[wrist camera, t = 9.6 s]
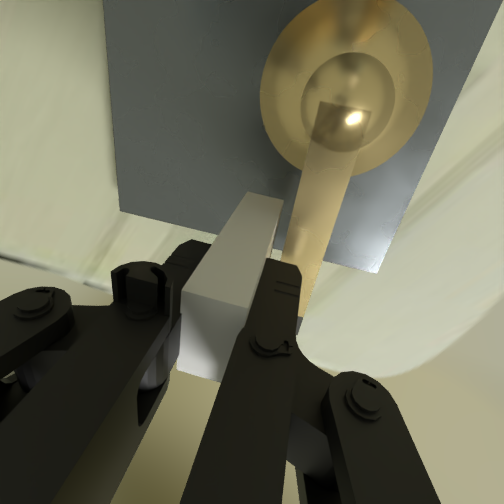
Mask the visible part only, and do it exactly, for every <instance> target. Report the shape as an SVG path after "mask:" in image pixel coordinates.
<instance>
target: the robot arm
mask: <svg viewBox="0 0 504 504" xmlns="http://www.w3.org/2000/svg"><path fill="white" fill-rule="evenodd" d="M283 202H284V200H281V199H277V198H272V197H268V196H264V195H260V194H256V193H252V192H247V193H246V194H245V196H244V197H243V199H242V200H241V202H240V203H239V205H238V206H237V208H236V209H235V211H234V212H233V214H232V215H231V217H230V218H229V220H228V221H227V223H226V224H225V226H224V227H223V229H222V230H221V232H220V233H219V235H218V236H217V238H216V239H215V241H214V242H213V244H208V243H204V242H200V241H196V240H192V239H191V240H189V241H187V242H185V243H183V244H181V245H179V246H178V247H177V248H176V249H175V251H174V252H173V253H172V254H171V256H169V258H168V259H167V260H166V261H165V264H164V263H163V265H159V264H157V263H153V262H146V261H140V262H130V263H127V264H124V265H120V266H119V267H117V268H115V269H114V270H112V271H111V279H112V290H113V299H114V301H113V302H112V303H111V305H109V306H83V305H82V306H81V305H72V303H71V298H70V295H68V294H67V293H66V292H65V291H64V290H62V289H58V288H55V287H37V288H30V289H26V290H23V291H21V292H18V293H15V294H13V295H11V296H9V297H7V298H5V299H3V300H1V301H0V504H110V502H111V500H112V498H113V496H114V494H115V492H116V490H117V488H118V486H119V484H120V482H121V480H122V478H123V476H124V474H125V472H126V470H127V468H128V466H129V464H130V462H131V460H132V458H133V456H134V454H135V452H136V450H137V448H138V447H139V444H140V442H141V440H142V439H143V437H144V434H145V433H146V431H147V428H148V427H149V424H150V423H151V420H152V419H153V417H154V414H155V412H156V411H157V409H158V407H159V405H160V403H161V400H162V399H163V396H164V394H165V393H166V391H167V388H168V384H169V378H170V371H171V369H172V367H173V365H174V363H175V362H176V360H177V370H180V371H183V372H186V373H190V374H193V375H196V376H200V377H203V378H206V379H210V380H213V381H217V382H220V383H221V385H220V387H219V390H218V393H217V396H216V399H215V402H214V405H213V408H212V411H211V414H210V417H209V419H208V422H207V425H206V428H205V431H204V434H203V437H202V440H201V443H200V446H199V448H198V452H197V455H196V457H195V460H194V463H193V466H192V469H191V472H190V475H189V478H188V481H187V483H186V487H185V489H184V492H183V495H182V498H181V501H180V504H282V495H283V485H284V476H285V467H286V466H285V465H286V460H287V461H288V462H290V463H291V464H292V465H294V466H295V470H296V477H297V485H298V493H299V500H300V504H441V503H440V500H439V498H438V496H437V494H436V492H435V489H434V487H433V485H432V482H431V480H430V478H429V476H428V473H427V471H426V469H425V467H424V465H423V462H422V460H421V458H420V456H419V453H418V451H417V449H416V447H415V444H414V442H413V440H412V438H411V435H410V433H409V431H408V429H407V426H406V424H405V422H404V420H403V417H402V415H401V413H400V411H399V408H398V406H397V404H396V403H395V401H394V399H393V398H392V396H391V395H390V393H389V392H388V391H387V390H386V389H385V388H384V387H383V386H382V385H381V384H380V383H379V382H378V381H376V380H375V379H373V378H371V377H369V376H368V375H366V374H362V373H358V372H354V371H349V372H341V373H340V374H338V375H337V376H335V377H333V376H332V375H330V374H328V373H327V372H325V371H323V370H321V369H320V368H318V367H317V366H315V365H314V364H313V363H311V362H310V361H309V360H308V359H307V358H306V357H305V356H304V355H303V354H302V352H301V351H300V349H299V347H298V344H297V342H296V327H297V319H298V310H299V302H300V293H301V284H302V274H301V272H300V270H299V268H298V266H297V265H293V264H290V263H286V262H282V261H278V260H274V259H270V257H271V252H272V248H273V244H274V240H275V236H276V232H277V227H278V223H279V219H280V215H281V211H282V207H283ZM12 371H14V372H15V374H13V375H11V376H9V377H7V378H3V377H5V376H6V375H8V374H9V373H11V372H12Z"/></svg>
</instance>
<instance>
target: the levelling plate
mask: <svg viewBox="0 0 504 504" xmlns="http://www.w3.org/2000/svg"><path fill="white" fill-rule="evenodd" d="M317 1H318V0H103V7H104V19H105V32H106V44H107V57H108V69H109V82H110V94H111V107H112V119H113V131H114V144H115V156H116V169H117V181H118V194H119V206H120V211H122V212H126V213H130V214H134V215H138V216H142V217H147V218H151V219H155V220H159V221H163V222H167V223H171V224H175V225H179V226H183V227H188V228H192V229H196V230H200V231H204V232H208V233H212V234H216V235H219V233H220V232H221V230H222V229H223V227H224V226H225V224H226V223H227V221H228V220H229V218H230V217H231V215H232V214H233V212H234V211H235V209H236V208H237V206H238V205H239V203H240V202H241V200H242V199H243V197H244V196H245V194H246V193H247V192H252V193H256V194H260V195H264V196H268V197H272V198H277V199H281V200H284V202H283V207H282V211H281V215H280V219H279V223H278V227H277V232H276V236H275V240H274V244H273V248H274V249H278V250H282V251H283V248H284V244H285V240H286V236H287V231H288V227H289V223H290V219H291V215H292V211H293V207H294V203H295V199H296V195H297V191H298V187H299V183H300V179H301V175H302V170H300V169H298V168H296V167H295V166H293V165H292V164H291V163H289V162H288V161H287V160H286V159H285V158H284V157H283V156H282V155H281V154H280V153H279V152H278V151H277V149H276V148H275V147H274V145H273V144H272V142H271V140H270V138H269V136H268V134H267V132H266V129H265V127H264V123H263V119H262V115H261V108H260V86H261V79H262V74H263V70H264V67H265V64H266V60H267V58H268V55H269V53H270V51H271V49H272V47H273V45H274V43H275V42H276V40H277V38H278V37H279V35H280V34H281V33H282V31H283V30H284V29H285V27H286V26H287V25H288V24H289V23H290V22H291V21H292V20H293V19H294V18H295V17H296V16H297V15H298V14H299V13H300V12H302V11H303V10H304V9H306V8H307V7H308V6H310V5H312V4H313V3H315V2H317ZM395 1H397V2H398V3H400V4H401V5H403V6H404V7H405V8H406V9H407V10H408V11H409V12H410V13H412V14H413V16H414V17H415V18H416V20H417V21H418V22H419V24H420V25H421V27H422V29H423V31H424V33H425V35H426V37H427V40H428V43H429V46H430V49H431V55H432V61H433V81H432V89H431V94H430V98H429V102H428V105H427V108H426V111H425V113H424V115H423V117H422V119H421V121H420V124H419V125H418V127H417V129H416V130H415V132H414V133H413V135H412V136H411V137H410V139H409V140H408V141H407V142H406V144H405V145H404V146H403V147H402V148H401V149H400V150H399V151H398V152H397V153H396V154H395V155H393V156H392V157H391V158H390V159H388V160H387V161H386V162H384V163H382V164H381V165H379V166H378V167H376V168H374V169H372V170H370V171H367V172H365V173H362V174H359V175H355V176H351V177H350V180H349V183H348V186H347V189H346V192H345V195H344V198H343V201H342V204H341V207H340V210H339V213H338V216H337V218H336V221H335V224H334V227H333V230H332V233H331V236H330V239H329V242H328V245H327V248H326V251H325V254H324V257H323V261H327V262H331V263H335V264H339V265H343V266H347V267H351V268H355V269H360V270H364V271H368V272H372V273H376V274H377V272H378V269H379V267H380V265H381V263H382V261H383V259H384V256H385V254H386V252H387V250H388V248H389V246H390V243H391V241H392V239H393V237H394V235H395V233H396V230H397V228H398V226H399V224H400V222H401V220H402V217H403V215H404V213H405V211H406V209H407V207H408V204H409V202H410V200H411V198H412V196H413V194H414V191H415V189H416V187H417V185H418V183H419V181H420V178H421V176H422V174H423V172H424V170H425V168H426V166H427V163H428V161H429V159H430V157H431V155H432V153H433V150H434V148H435V146H436V144H437V142H438V140H439V137H440V135H441V133H442V131H443V129H444V127H445V124H446V122H447V120H448V118H449V116H450V114H451V111H452V109H453V107H454V105H455V103H456V101H457V98H458V96H459V94H460V92H461V90H462V88H463V85H464V83H465V81H466V79H467V77H468V75H469V72H470V70H471V68H472V66H473V64H474V62H475V59H476V57H477V55H478V53H479V51H480V49H481V46H482V44H483V42H484V40H485V38H486V36H487V33H488V31H489V29H490V27H491V25H492V23H493V21H494V18H495V16H496V14H497V12H498V10H499V8H500V5H501V3H502V1H503V0H395Z"/></svg>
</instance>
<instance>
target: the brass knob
mask: <svg viewBox="0 0 504 504" xmlns="http://www.w3.org/2000/svg"><path fill="white" fill-rule="evenodd" d="M432 81H433V61H432V55H431V49H430V46H429V43H428V40H427V37H426V35H425V33H424V31H423V29H422V27H421V25H420V24H419V22H418V21H417V20H416V18H415V17H414V16H413V14H412V13H410V12H409V11H408V10H407V9H406V8H405V7H404V6H403V5H401V4H400V3H398V2H397V1H395V0H318V1H317V2H315V3H313V4H312V5H310V6H308V7H307V8H306V9H304V10H303V11H302V12H300V13H299V14H298V15H297V16H296V17H295V18H294V19H293V20H292V21H291V22H290V23H289V24H288V25H287V26H286V27H285V29H284V30H283V31H282V33H281V34H280V35H279V37H278V38H277V40H276V42H275V43H274V45H273V47H272V49H271V51H270V53H269V55H268V58H267V60H266V64H265V67H264V70H263V74H262V79H261V86H260V108H261V115H262V119H263V123H264V127H265V129H266V132H267V134H268V136H269V138H270V140H271V142H272V144H273V145H274V147H275V148H276V149H277V151H278V152H279V153H280V154H281V155H282V156H283V157H284V158H285V159H286V160H287V161H288V162H289V163H291V164H292V165H293V166H295V167H296V168H298V169H300V170H302V175H301V179H300V183H299V187H298V191H297V195H296V199H295V203H294V207H293V211H292V215H291V219H290V223H289V227H288V231H287V236H286V240H285V244H284V248H283V252H282V256H281V260H280V261H282V262H286V263H290V264H293V265H297V266H298V268H299V270H300V272H301V274H302V284H301V293H300V302H299V310H298V319H297V327H296V335H298V332H299V329H300V326H301V323H302V320H303V317H304V314H305V311H306V308H307V305H308V302H309V299H310V296H311V293H312V290H313V287H314V284H315V281H316V278H317V275H318V272H319V269H320V266H321V263H322V260H323V257H324V254H325V251H326V248H327V245H328V242H329V239H330V236H331V233H332V230H333V227H334V224H335V221H336V218H337V216H338V213H339V210H340V207H341V204H342V201H343V198H344V195H345V192H346V189H347V186H348V183H349V180H350V177H351V176H355V175H359V174H362V173H365V172H367V171H370V170H372V169H374V168H376V167H378V166H379V165H381V164H382V163H384V162H386V161H387V160H388V159H390V158H391V157H392V156H393V155H395V154H396V153H397V152H398V151H399V150H400V149H401V148H402V147H403V146H404V145H405V144H406V142H407V141H408V140H409V139H410V137H411V136H412V135H413V133H414V132H415V130H416V129H417V127H418V125H419V124H420V121H421V119H422V117H423V115H424V113H425V111H426V108H427V105H428V102H429V98H430V94H431V89H432Z"/></svg>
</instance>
